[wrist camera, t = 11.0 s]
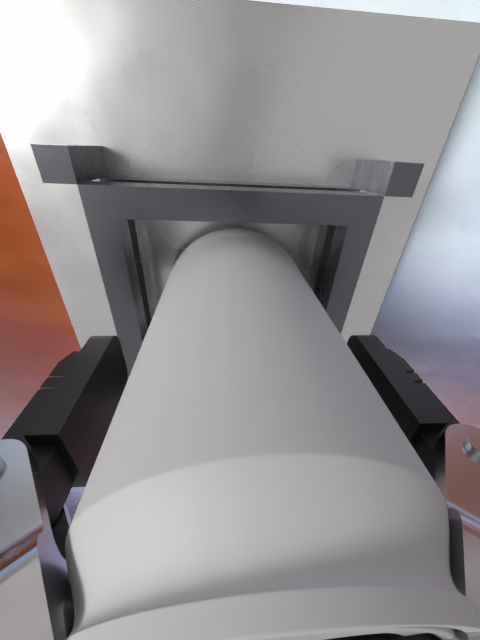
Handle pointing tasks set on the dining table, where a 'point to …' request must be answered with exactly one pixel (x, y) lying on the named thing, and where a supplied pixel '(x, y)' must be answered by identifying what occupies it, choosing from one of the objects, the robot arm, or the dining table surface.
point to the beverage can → (256, 476)
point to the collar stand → (223, 141)
